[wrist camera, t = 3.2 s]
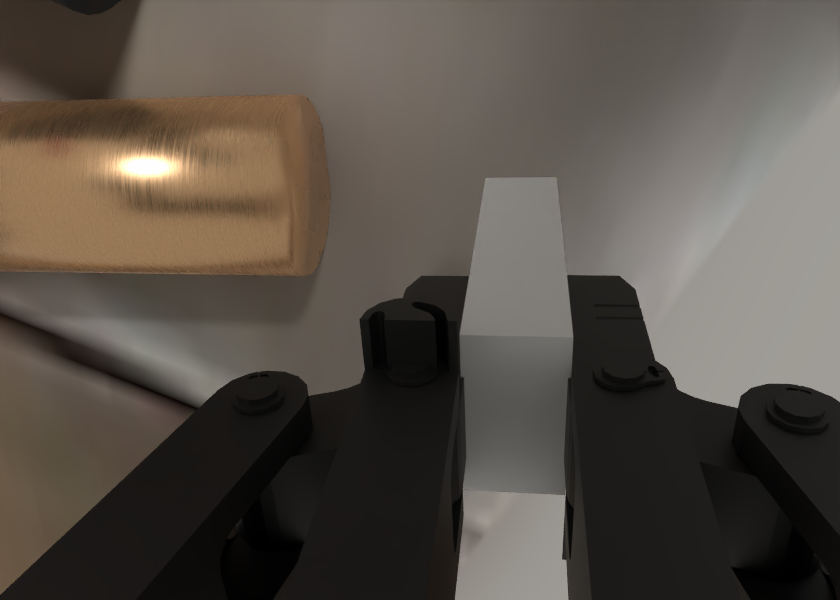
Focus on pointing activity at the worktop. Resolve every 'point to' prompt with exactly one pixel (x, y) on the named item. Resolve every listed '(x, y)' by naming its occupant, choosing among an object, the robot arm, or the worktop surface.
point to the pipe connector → (88, 5)
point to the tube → (163, 186)
